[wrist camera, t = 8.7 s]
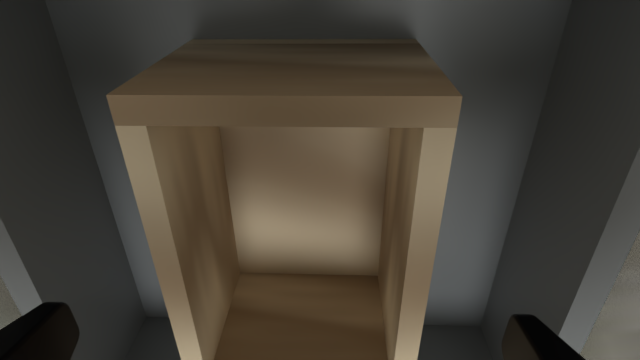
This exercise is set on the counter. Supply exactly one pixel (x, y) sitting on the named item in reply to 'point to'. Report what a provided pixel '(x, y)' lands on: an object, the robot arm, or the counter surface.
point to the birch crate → (291, 192)
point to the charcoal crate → (463, 183)
